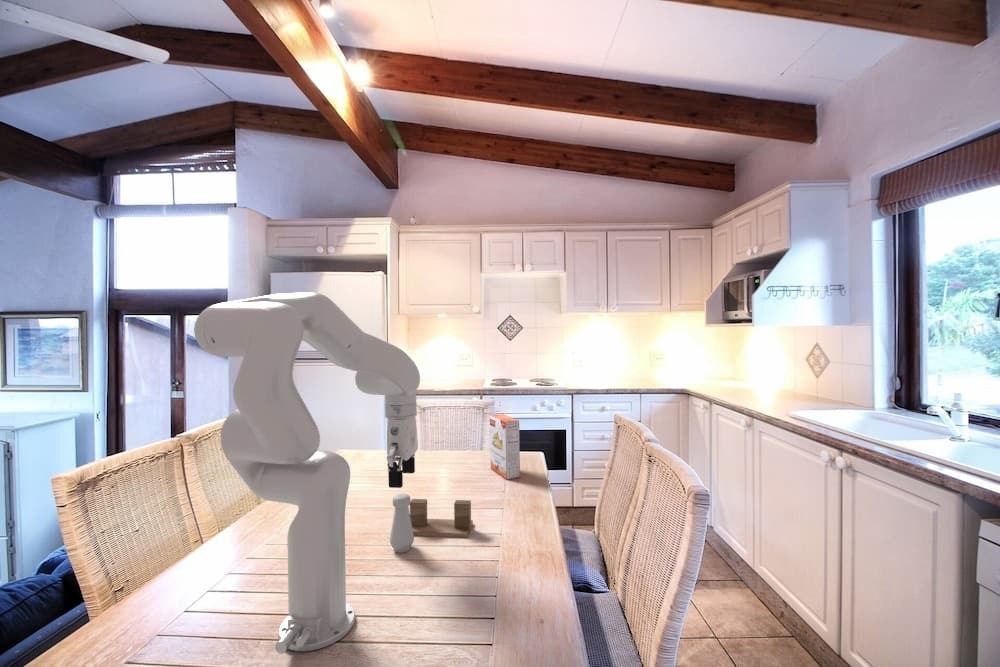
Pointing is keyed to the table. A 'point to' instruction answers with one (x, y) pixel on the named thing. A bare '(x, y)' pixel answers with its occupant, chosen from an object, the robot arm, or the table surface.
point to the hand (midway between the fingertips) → (402, 479)
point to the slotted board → (441, 520)
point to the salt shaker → (401, 524)
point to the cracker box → (505, 446)
